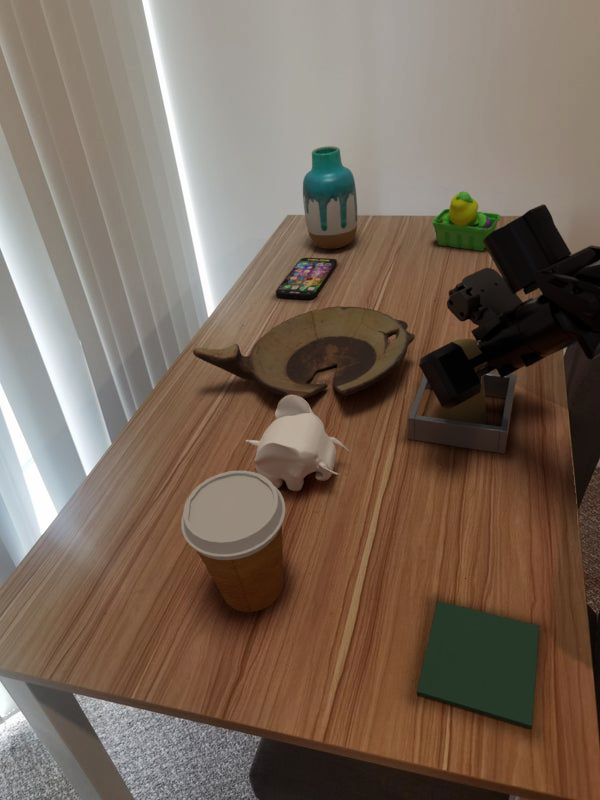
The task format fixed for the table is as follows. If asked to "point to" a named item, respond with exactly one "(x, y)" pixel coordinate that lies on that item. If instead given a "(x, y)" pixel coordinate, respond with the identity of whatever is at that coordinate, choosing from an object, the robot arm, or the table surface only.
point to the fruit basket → (464, 224)
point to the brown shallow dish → (319, 351)
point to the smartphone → (306, 278)
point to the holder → (464, 431)
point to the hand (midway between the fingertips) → (456, 370)
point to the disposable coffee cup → (238, 536)
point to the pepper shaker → (475, 405)
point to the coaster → (481, 663)
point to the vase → (330, 200)
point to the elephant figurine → (295, 446)
